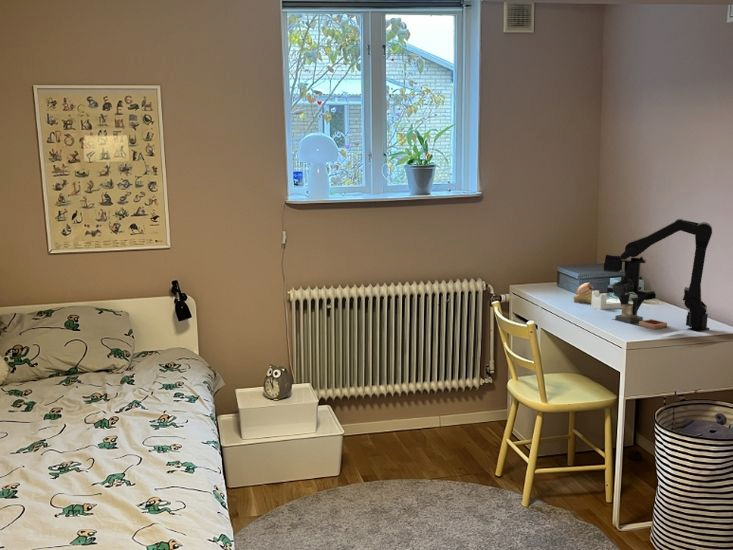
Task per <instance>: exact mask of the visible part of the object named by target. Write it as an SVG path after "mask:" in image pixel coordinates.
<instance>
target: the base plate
mask: <svg viewBox="0 0 733 550" xmlns="http://www.w3.org/2000/svg"><path fill="white" fill-rule="evenodd" d="M621 316H622V314H617V315H615V318H612V319H611V320H614V321H617V322H620V323H625V324H629V325H632V326H636V327H641V328H645V329H649V330H654V331H659V330H662V329H663V330H664V329H667V328H670V326H668V322H666V321H662V320H661V321H660V320H657V319H653V318H649V319H645V320H644V317H643V316H640V315H637V317H636V318H631V319H630V318H626V317H621Z"/></svg>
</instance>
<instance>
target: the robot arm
mask: <svg viewBox="0 0 733 550" xmlns="http://www.w3.org/2000/svg"><path fill="white" fill-rule="evenodd" d="M678 232H684V233H687V234H690V235H694V236H695V237H694V238H695V240H694V241H695V251H694V258H693V265H692V271H691V278H690V283H689V285H688V287H687V286H685V287H684V289H683V292H684V293H683V294H684V295H683V296H682V301H684V307H685V308H687V309H688V311H687V315H686V321H685V326H687V327H689V328H687V330H692V331H696V332H703V331H708V330H710V327H708V316H709V315H708V314H709V313H707V309H708V305H707V304H705V303H704V302H703V300H702V278H703V273H704V264H705V260H706V259H705V258H706V254H707V253H706V252H707V249H708V246H709V243H710V240H711V238H712V235H713V226H712V225H711V224H710V223H708V222H705V221H703V222H696V221H695V222H694V221H691V220H685V219H683V218H678V219H676V220H675V221H673V222H671V223H669V224H667V225H665V226H663V227H661V228H660V229H658V230H656V231H653V232H651V233H650V234H648V235H646V236H643V237H637V238H635V239H633V240H630V241H628V243H627V244H626V245H625V247H624V251H623V252H621V254H620V255H619V254H618V255H617V254H609V253H606V254H605V257H604V258H605V259H604V264H603V272H604V273H617V274H619V273H620V272H621V271H624V272H623V275H621V277H620V281H617V282H615V283H612V284H608V285H607V286H606V293H611V294H613V295H614V296H615V297H617V299H619V300H620V302H621V306H622V304H628V302H629V301H630V299H631V300H632V304H633V315H635V314H636V312H637V313H638V310H640V307H641V306H642V304H643V303H644V301H649V300H654V299H656V295H657V294H656V292H655V291H654V290H649V289H642V287H641V286H640V280H642V278H643V276H641V264H646V263H647V260H646V259H645V258H644V256H643V255H641V254H642V253H643V252H645V251H646V250H647V249H648V248H649V247H651V246H652V245H654V244H656V243H658V242H661V241H662V240H664V239H666V238H669V236H672V235H674V234H676V233H678ZM639 255H641V256H640V257H638V256H639ZM630 257H631V258H630ZM628 258H630V259H628ZM623 269H624V270H623ZM631 295H633V296H634V297H631V298H630V296H631ZM629 303H630V302H629Z"/></svg>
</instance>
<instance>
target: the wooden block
mask: <svg viewBox="0 0 733 550" xmlns="http://www.w3.org/2000/svg"><path fill="white" fill-rule="evenodd" d="M621 315H622V316H621V317H626V318H630V319H631V318H636V317H637V316H638V311H637V312H636V314H635V315H633V303H630V302H629V303H628V304H622V308H621Z"/></svg>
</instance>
